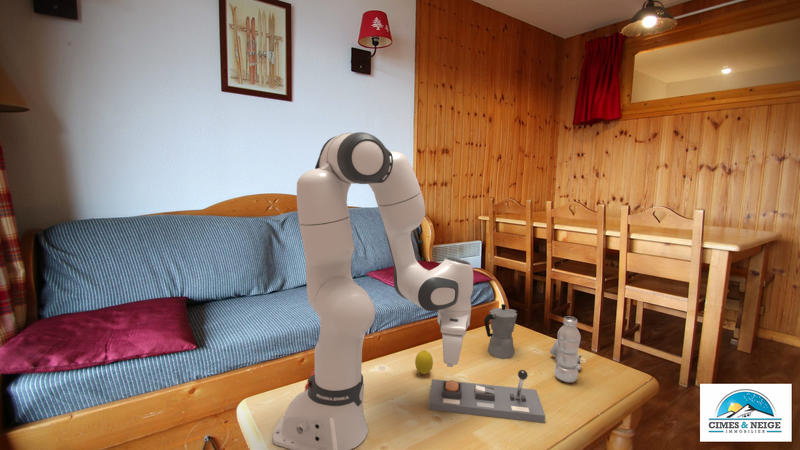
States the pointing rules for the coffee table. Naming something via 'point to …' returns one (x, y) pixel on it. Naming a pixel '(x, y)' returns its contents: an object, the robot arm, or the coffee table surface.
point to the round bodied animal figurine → (555, 352)
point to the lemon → (424, 362)
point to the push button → (452, 386)
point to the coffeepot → (501, 331)
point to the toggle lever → (520, 382)
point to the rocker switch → (483, 390)
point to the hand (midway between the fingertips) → (450, 364)
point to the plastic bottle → (568, 351)
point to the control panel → (487, 401)
